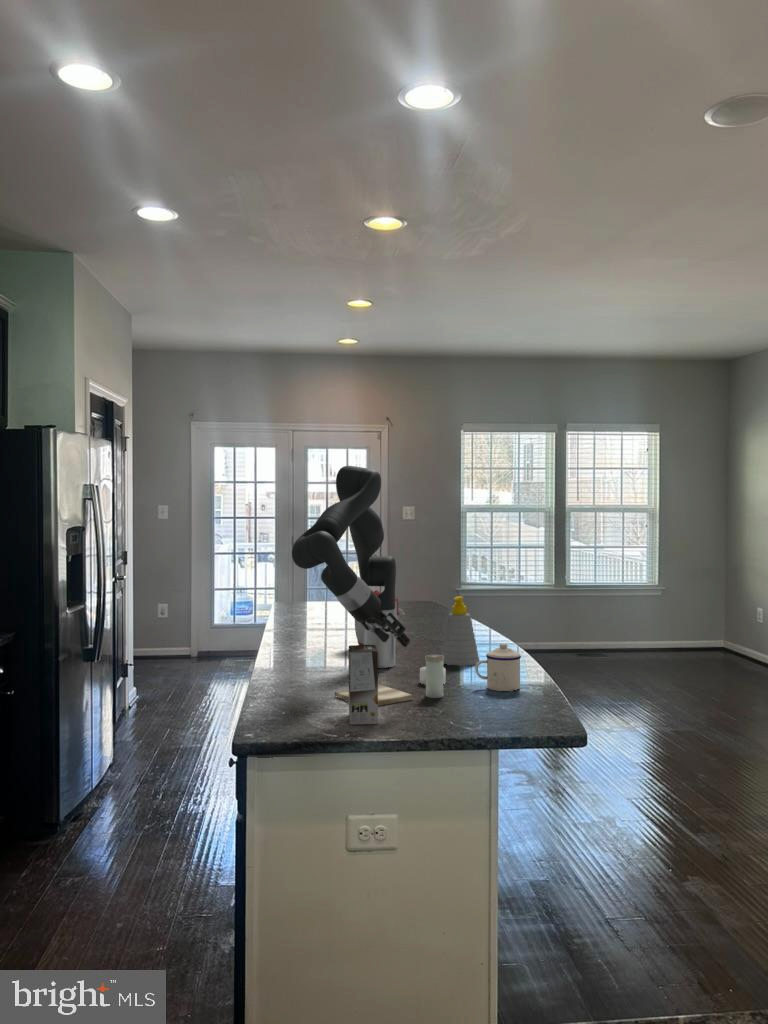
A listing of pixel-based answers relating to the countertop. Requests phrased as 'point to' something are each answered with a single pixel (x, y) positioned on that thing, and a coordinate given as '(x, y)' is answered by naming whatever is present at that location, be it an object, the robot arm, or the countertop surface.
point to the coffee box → (363, 684)
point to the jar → (434, 676)
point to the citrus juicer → (361, 630)
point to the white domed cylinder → (423, 675)
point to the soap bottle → (459, 637)
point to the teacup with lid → (502, 669)
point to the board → (382, 695)
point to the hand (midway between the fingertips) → (396, 641)
